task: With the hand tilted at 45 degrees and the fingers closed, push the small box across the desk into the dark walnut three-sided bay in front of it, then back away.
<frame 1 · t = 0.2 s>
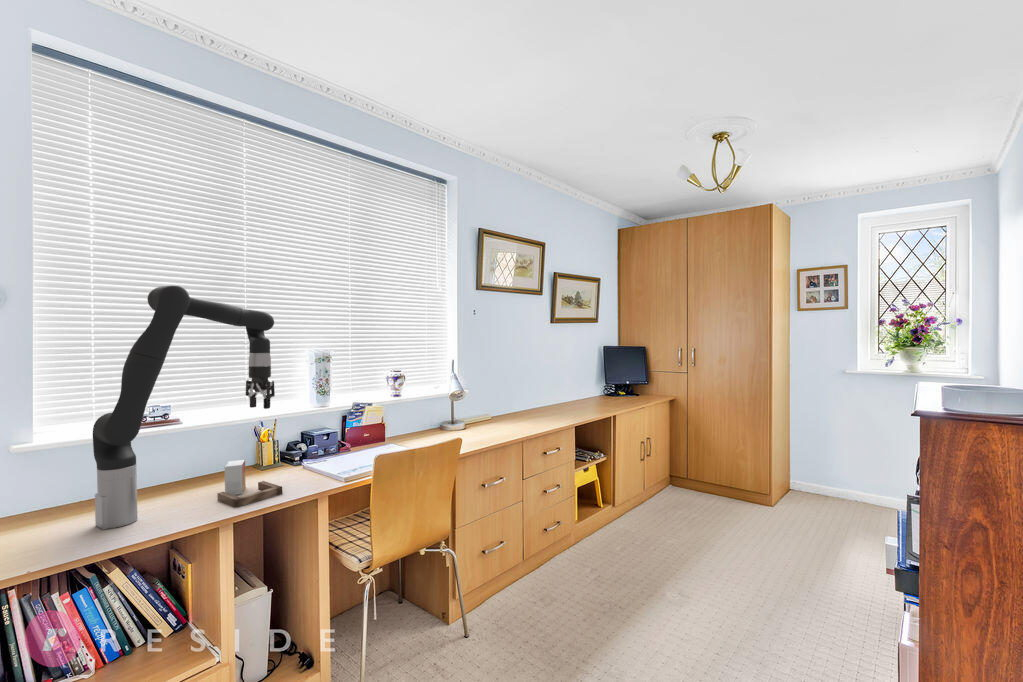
hand: (259, 407, 182), 29 cm above the table, fingers open, 8 cm apart
walnut bay: (249, 496, 168), on the table
small box: (235, 492, 173), on the table
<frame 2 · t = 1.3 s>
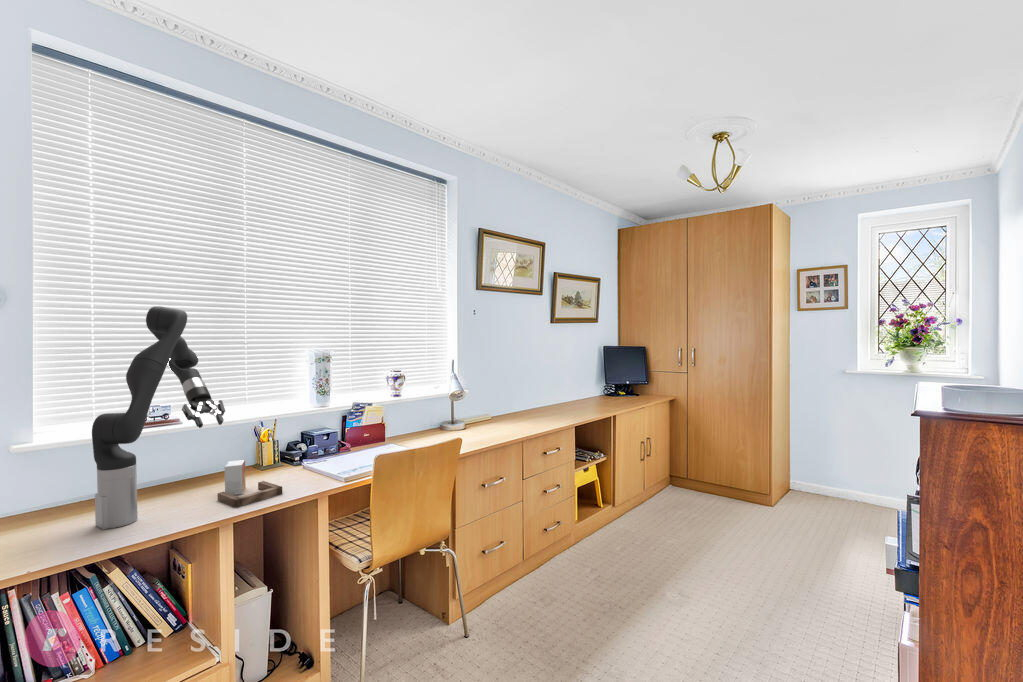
hand: (211, 424, 182), 22 cm above the table, fingers open, 6 cm apart
nothing on the table moved.
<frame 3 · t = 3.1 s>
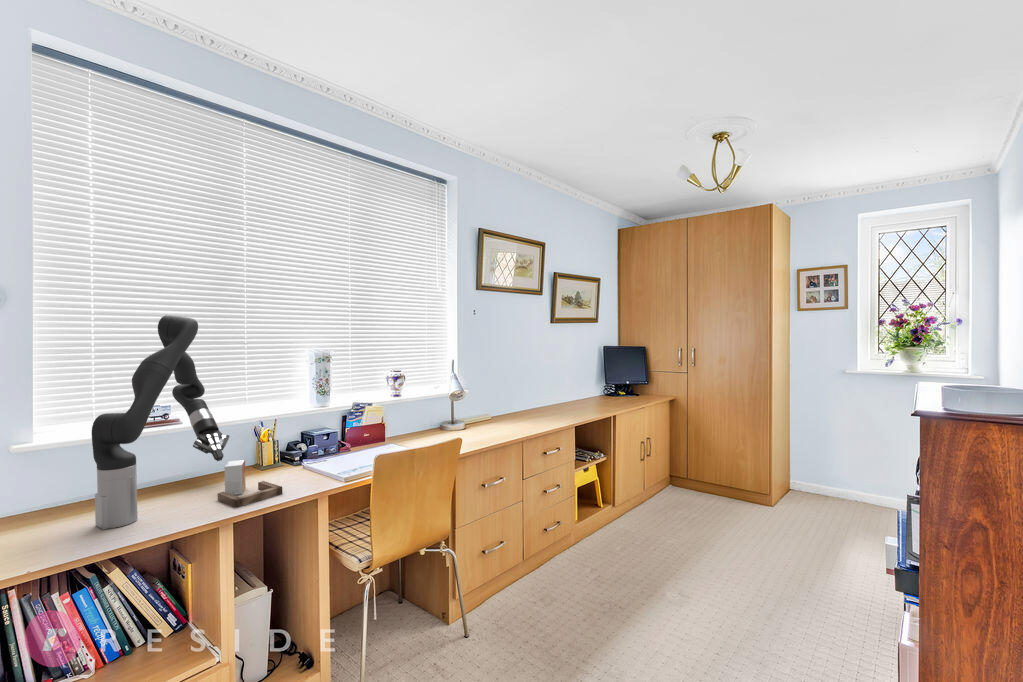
hand: (220, 459, 179), 10 cm above the table, fingers closed
nothing on the table moved.
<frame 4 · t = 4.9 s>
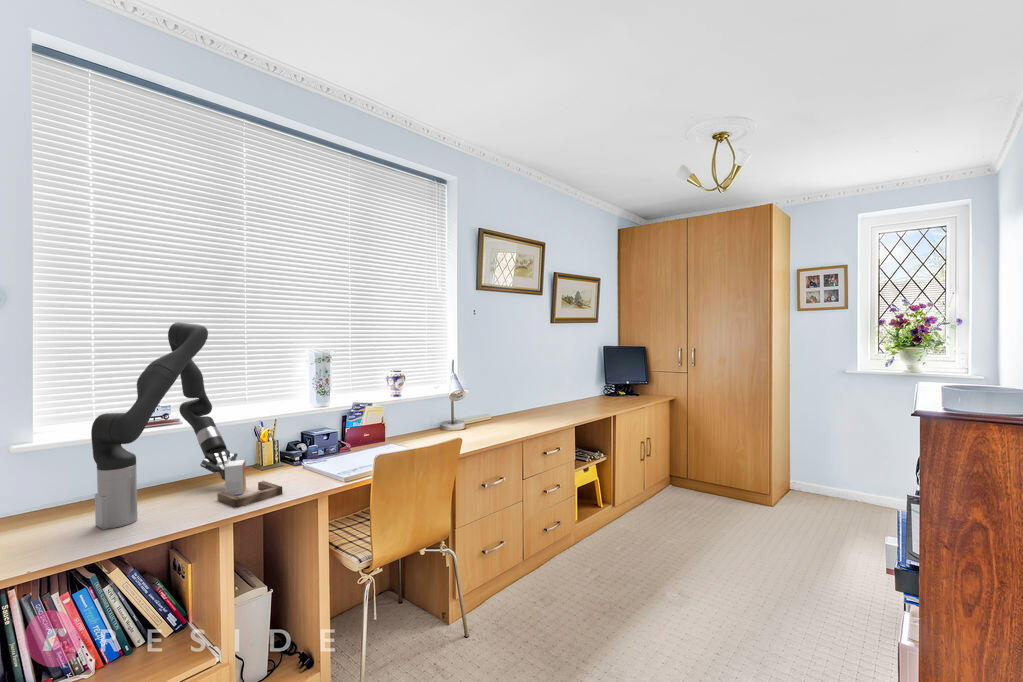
hand: (228, 479, 176), 4 cm above the table, fingers closed
small box: (235, 492, 173), on the table, touching gripper
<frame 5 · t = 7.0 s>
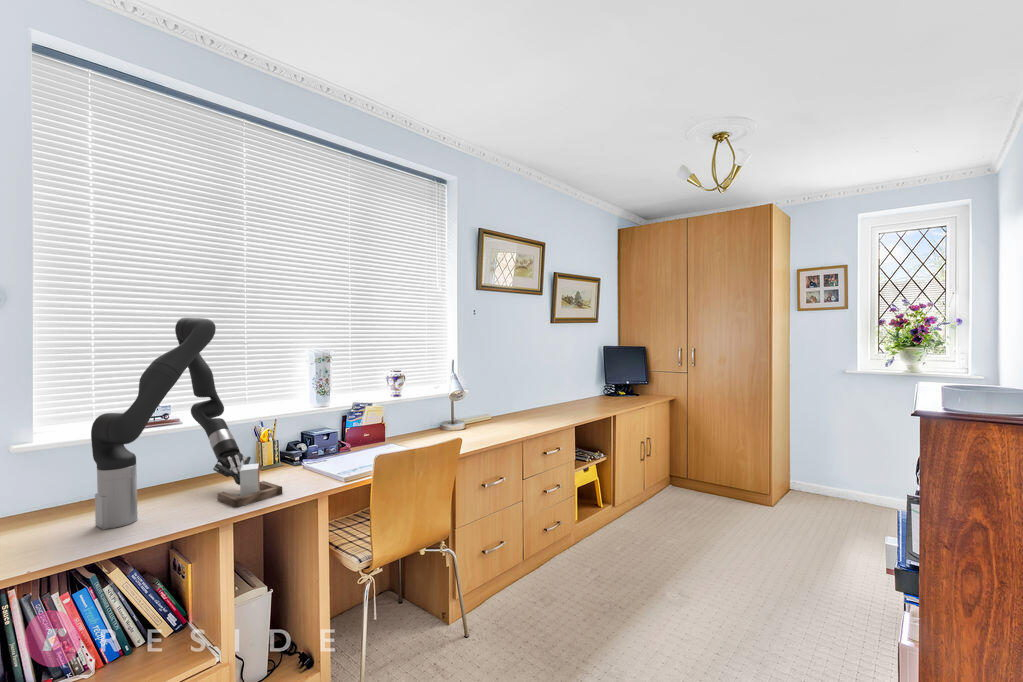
hand: (241, 483, 171), 4 cm above the table, fingers closed
small box: (250, 497, 168), on the table, touching gripper, walnut bay
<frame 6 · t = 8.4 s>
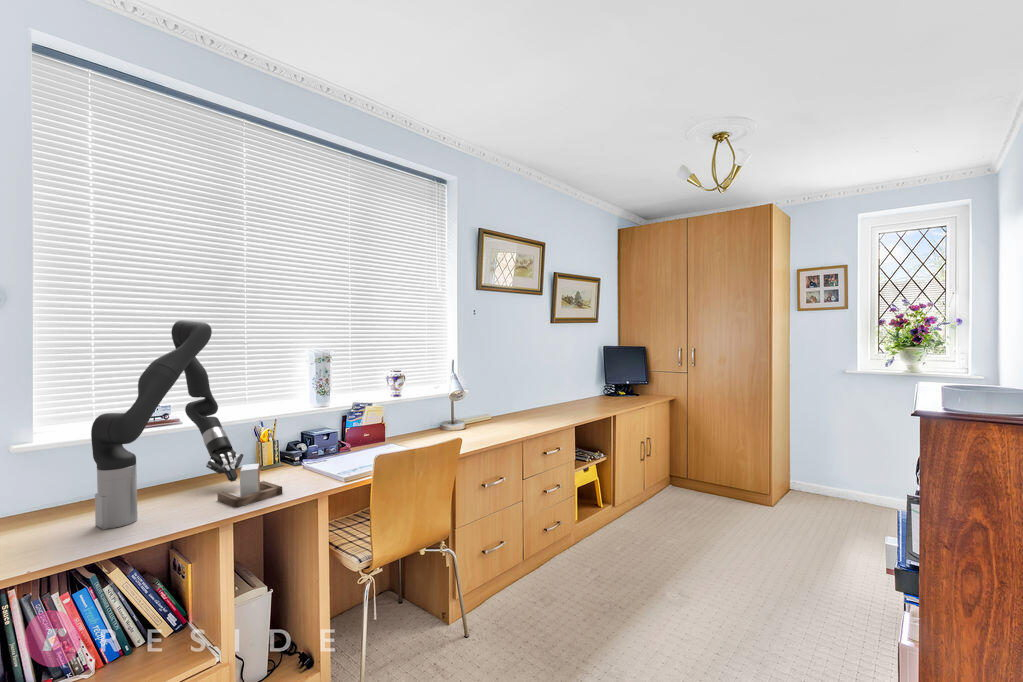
hand: (234, 480, 174), 4 cm above the table, fingers closed
small box: (250, 497, 168), on the table
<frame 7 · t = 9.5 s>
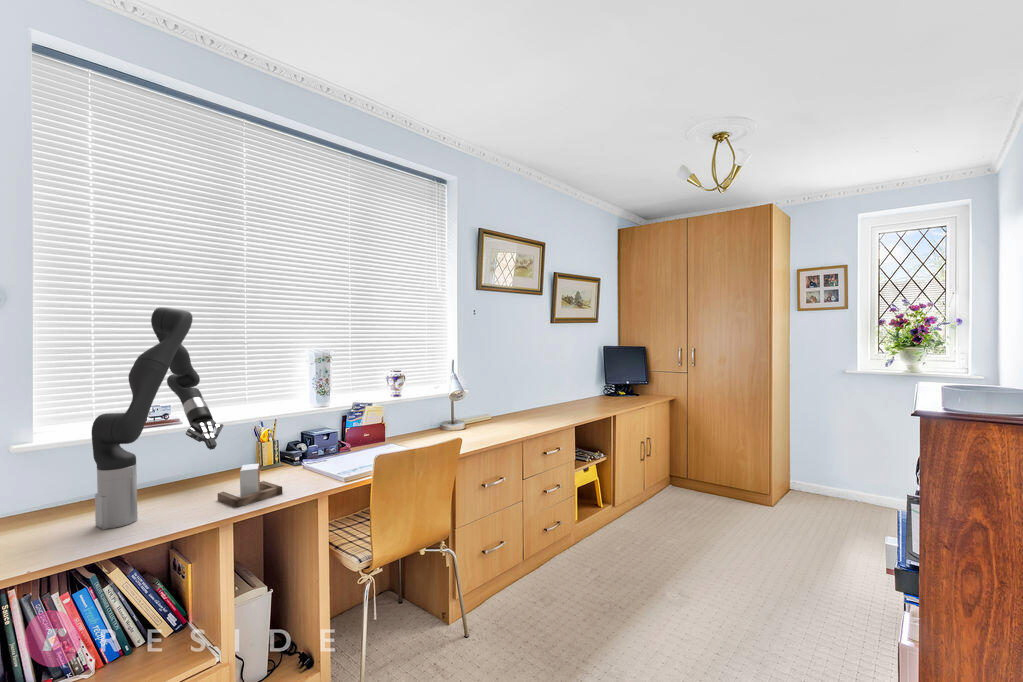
hand: (213, 448, 177), 15 cm above the table, fingers closed
nothing on the table moved.
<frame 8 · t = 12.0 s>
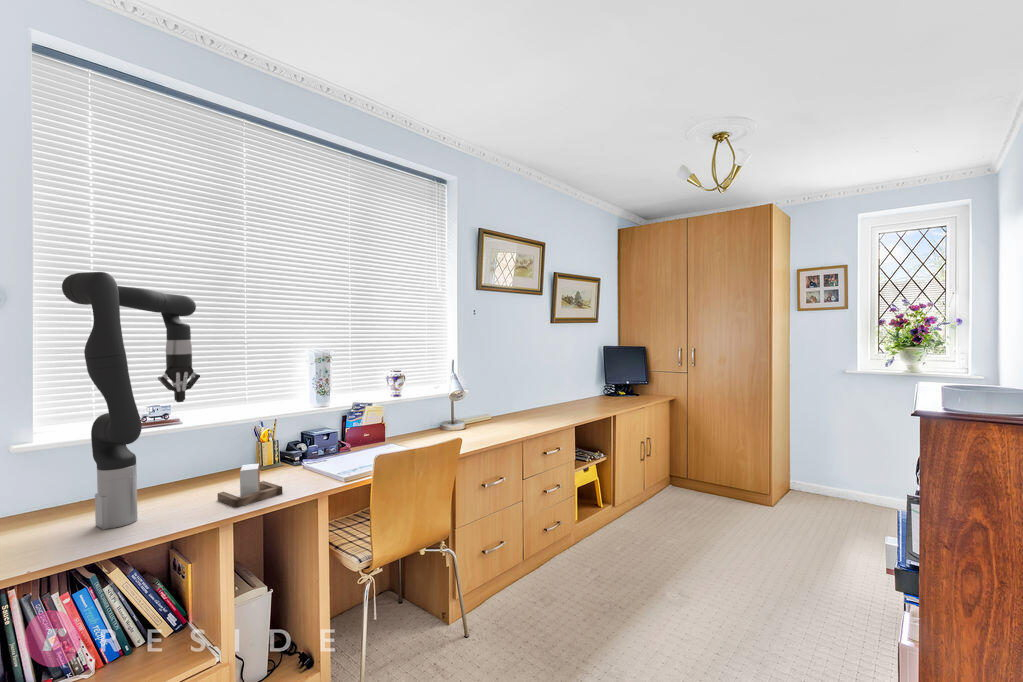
hand: (180, 401, 170), 33 cm above the table, fingers closed
nothing on the table moved.
at the end: small box inside the target area (0.3 cm from its centre), on the table; small box tilted 0°; the gripper is holding nothing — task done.
